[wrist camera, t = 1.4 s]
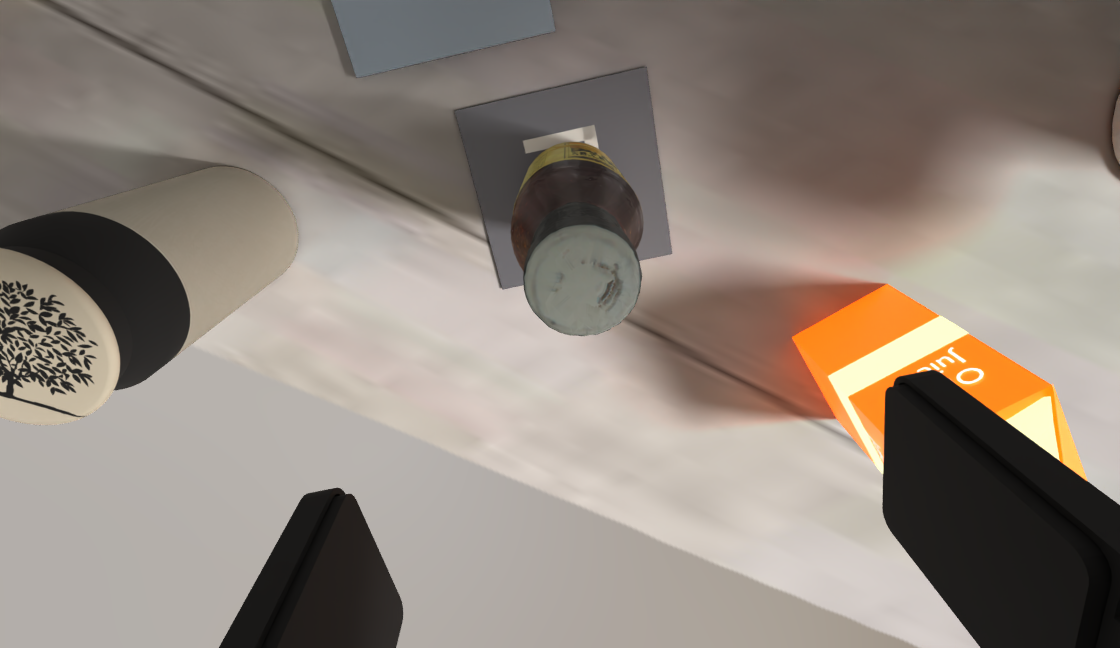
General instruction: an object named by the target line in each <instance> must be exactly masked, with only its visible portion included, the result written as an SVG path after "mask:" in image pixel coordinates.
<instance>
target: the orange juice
mask: <svg viewBox="0 0 1120 648" xmlns="http://www.w3.org/2000/svg"><path fill="white" fill-rule="evenodd" d="M792 339H793V340H794V342H795V344H796V346H797V348H798V349H799V351H800V353H801V355H802V357H803V359H804V360H805V362H806V364H807V366H808V368H809V369H810V371H811V373H812V375H813V377H814V378H815V380H816V382H817V384H818V386H819V388H820V389H821V391H822V393H823V395H824V397H825V398H826V400H827V402H828V404H829V406H830V407H831V409H832V411H833V413H834V415H835V417H836V418H837V420H838V421H839V422H840V423H841V425H842V426H843V427H844V428H845V429H846V430H847V432H848V433H849V434H850V435H851V436H852V438H853V439H854V440H855V441H856V442H857V443H858V445H859V446H860V447H861V448H862V449H863V451H864V452H865V453H866V454H867V455H868V456H869V458H870V459H871V460H872V461H873V462H874V464H875V465H876V467H877V468H878V469H879V470H880V472H881V473H882V474H883V462H884V414H885V391H886V390H887V388H889V387H892V386H893V385H894V381H895V379H896V378H897V377H899V376H903V375H908V374H913V373H918V372H923V371H928V370H937V371H939V372H941V373H942V374H943V375H945V376H946V377H947V378H949V379H950V380H952V381H953V382H954V383H956V384H957V385H958V386H960V387H961V388H962V389H964V390H965V391H966V392H968V393H969V394H970V395H972V396H973V397H974V398H976V399H977V400H978V401H980V402H981V403H983V404H984V405H985V406H987V407H988V408H989V409H991V410H992V411H993V412H995V413H996V414H997V415H999V416H1000V417H1001V418H1003V419H1004V420H1005V421H1007V422H1008V423H1009V424H1011V425H1012V426H1014V427H1015V428H1016V429H1018V430H1019V431H1020V432H1022V433H1023V434H1024V435H1026V436H1027V437H1028V438H1030V439H1031V440H1032V441H1034V442H1035V443H1036V444H1038V445H1039V446H1040V447H1042V448H1043V449H1045V450H1046V451H1047V452H1049V453H1050V454H1051V455H1053V456H1054V457H1055V458H1057V459H1058V460H1059V461H1061V462H1062V463H1063V464H1065V465H1066V466H1067V467H1069V468H1070V469H1071V470H1073V471H1074V472H1076V473H1077V474H1078V475H1080V476H1081V477H1082V478H1084V479H1085V480H1086V481H1087V479H1086V476H1085V473H1084V470H1083V467H1082V465H1081V462H1080V459H1079V456H1078V453H1077V451H1076V448H1075V445H1074V442H1073V439H1072V436H1071V434H1070V431H1069V428H1068V425H1067V422H1066V419H1065V417H1064V414H1063V411H1062V408H1061V405H1060V403H1059V400H1058V397H1057V394H1056V391H1055V388H1054V386H1053V387H1052V385H1051V384H1049V383H1048V382H1046V381H1044V380H1043V379H1041V378H1040V377H1038V376H1036V375H1035V374H1033V373H1031V372H1030V371H1028V370H1027V369H1025V368H1023V367H1022V366H1020V365H1018V364H1017V363H1015V362H1014V361H1012V360H1010V359H1009V358H1007V357H1005V356H1004V355H1002V354H1001V353H999V352H997V351H996V350H994V349H992V348H991V347H989V346H988V345H986V344H984V343H983V342H981V341H979V340H978V339H976V338H975V337H973V336H971V335H970V334H969V333H968V332H967V331H965V330H963V329H962V328H960V327H958V326H957V325H955V324H954V323H952V322H950V321H949V320H947V319H945V318H944V317H942V316H939V315H937V314H936V313H934V312H932V311H931V310H929V309H927V308H926V307H924V306H923V305H921V304H919V303H918V302H916V301H914V300H913V299H911V298H910V297H908V296H906V295H905V294H903V293H901V292H900V291H898V290H897V289H895V288H893V287H892V286H890V285H888V284H886V285H884V286H883V287H881V288H879V289H877V290H875V291H874V292H872V293H870V294H868V295H866V296H865V297H863V298H861V299H859V300H858V301H856V302H854V303H852V304H850V305H849V306H847V307H845V308H843V309H841V310H840V311H838V312H836V313H834V314H832V315H831V316H829V317H827V318H825V319H824V320H822V321H820V322H818V323H816V324H815V325H813V326H811V327H809V328H807V329H806V330H804V331H802V332H800V333H798V334H797V335H795V336H793V337H792Z"/></svg>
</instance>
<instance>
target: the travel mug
mask: <svg viewBox="0 0 1120 648" xmlns="http://www.w3.org/2000/svg"><path fill="white" fill-rule="evenodd" d="M297 248H298V228H297V224H296V220H295V217H294V215H293V212H292V210H291V208H290V207H289V205H288V203H287V202H286V200H285V199H284V198H283V196H282V195H281V194H280V193H279V192H278V191H277V190H276V189H275V188H274V187H273V186H272V185H271V184H269V183H268V182H267V181H265V180H264V179H262V178H261V177H259V176H257V175H255V174H253V173H251V172H249V171H246V170H243V169H239V168H235V167H227V166H217V167H211V168H206V169H203V170H199V171H196V172H192V173H189V174H185V175H182V176H178V177H175V178H171V179H168V180H164V181H161V182H157V183H154V184H150V185H147V186H143V187H140V188H136V189H133V190H129V191H126V192H122V193H119V194H116V195H112V196H109V197H105V198H102V199H98V200H95V201H91V202H88V203H84V204H81V205H77V206H74V207H70V208H67V209H63V210H60V211H56V212H53V213H49V214H46V215H42V216H39V217H35V218H32V219H28V220H25V221H21V222H18V223H15V224H12V225H9V226H7V227H5V228H3V229H1V230H0V417H1V418H4V419H7V420H11V421H15V422H20V423H26V424H34V425H56V424H63V423H68V422H72V421H75V420H78V419H81V418H83V417H85V416H87V415H89V414H91V413H93V412H94V411H96V410H97V409H98V408H100V407H101V406H102V405H103V404H104V403H105V402H106V401H107V400H108V398H109V397H110V395H111V394H112V393H113V391H114V390H119V389H125V388H128V387H131V386H134V385H136V384H139V383H141V382H142V381H144V380H146V379H147V378H148V377H150V376H151V375H152V374H154V373H155V372H156V371H158V370H159V369H160V368H162V367H163V366H164V365H165V364H167V363H168V362H169V361H171V360H172V359H173V358H175V357H176V356H177V355H178V354H180V353H181V352H182V351H183V350H185V349H186V348H187V347H189V346H190V345H191V344H193V343H194V342H195V341H196V340H198V339H199V338H200V337H202V336H203V335H204V334H206V333H207V332H208V331H209V330H211V329H212V328H213V327H215V326H216V325H217V324H218V323H220V322H221V321H222V320H224V319H225V318H226V317H227V316H229V315H230V314H231V313H233V312H234V311H235V310H236V309H238V308H239V307H240V306H242V305H243V304H244V303H246V302H247V301H248V300H249V299H251V298H252V297H253V296H255V295H256V294H257V293H258V292H260V291H261V290H262V289H264V288H265V287H266V286H267V285H269V284H270V283H271V282H273V281H274V280H275V279H277V278H278V277H279V276H280V275H282V274H283V273H284V272H285V271H286V270H287V269H288V268H289V266H290V265H291V263H292V262H293V260H294V258H295V255H296V252H297Z"/></svg>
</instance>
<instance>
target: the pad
mask: <svg viewBox="0 0 1120 648" xmlns="http://www.w3.org/2000/svg"><path fill="white" fill-rule="evenodd" d="M331 2H332V5H333V8H334V11H335V14H336V17H337V20H338V23H339V26H340V29H341V32H342V35H343V38H344V41H345V44H346V47H347V51H348V54H349V57H350V60H351V63H352V66H353V69H354V72H355V75H356V78H360V77H365V76H370V75H374V74H378V73H382V72H387V71H391V70H395V69H399V68H403V67H408V66H412V65H416V64H420V63H425V62H429V61H433V60H437V59H442V58H446V57H450V56H454V55H459V54H463V53H467V52H471V51H476V50H480V49H484V48H488V47H493V46H497V45H501V44H505V43H510V42H514V41H518V40H522V39H527V38H531V37H535V36H539V35H544V34H548V33H552V32H555V31H556V30H555V25H554V20H553V15H552V9H551V4H550V0H331Z"/></svg>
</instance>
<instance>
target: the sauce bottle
mask: <svg viewBox="0 0 1120 648" xmlns="http://www.w3.org/2000/svg"><path fill="white" fill-rule="evenodd" d="M643 225H644V221H643V213H642V209H641V205H640V202H639V200H638V198H637V196H636V194H635V192H634V190H633V189H632V188H631V186H630V185H629V183H628V182H627V181H626V179H625V178H624V176H623V175H622V174H621V173H620V171H619V170H618V169H617V167H616V166H615V165H614V163H613V162H612V161H611V159H610V158H609V157H608V156H607V155H606V154H605V153H603V152H602V151H601V150H599V149H598V148H596V147H594V146H592V145H589V144H586V143H581V142H564V143H560V144H557V145H554V146H552V147H550V148H548V149H547V150H545V151H544V152H542V153H541V154H540V155H539V156H538V157H537V158H536V159H535V160H534V161H533V162H532V164H531V165H530V166H529V168H528V171H527V173H526V176H525V178H524V181H523V183H522V185H521V188H520V191H519V193H518V196H517V198H516V202H515V205H514V209H513V216H512V221H511V231H510V234H511V241H512V242H511V243H512V247H513V250H514V254H515V256H516V259H517V262H518V263H519V266H520V267H521V268H522V270H523V272H524V273H523V281H524V291H525V295H526V298H527V301H528V303H529V305H530V307H531V309H532V310H533V312H534V313H535V314H536V315H537V316H538V317H539V318H540V319H541V320H542V321H543V322H544V323H545V324H546V325H547V326H548V327H550V328H552V329H554V330H556V331H558V332H560V333H563V334H567V335H578V336H586V335H596V334H599V333H602V332H605V331H608V330H610V329H611V328H612V327H614V326H616V325H618V324H619V323H621V321H622V320H623V319H624V318H625V317H626V316H627V315H628V314H629V313H630V312H631V311H632V309H633V308H634V306H635V304H636V301H637V298H638V296H639V293H640V287H641V280H642V273H641V268H640V262H639V258H638V255H637V252H636V250H637V248H638V246H639V243H640V241H641V238H642V234H643Z"/></svg>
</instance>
